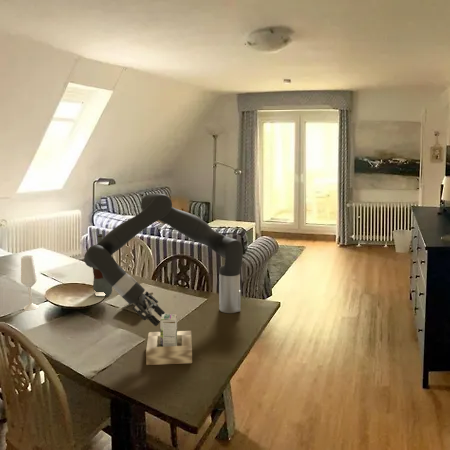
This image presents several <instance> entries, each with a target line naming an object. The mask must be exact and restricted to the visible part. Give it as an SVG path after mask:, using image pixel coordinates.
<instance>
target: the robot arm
mask: <svg viewBox="0 0 450 450" xmlns="http://www.w3.org/2000/svg"><path fill="white" fill-rule="evenodd" d="M172 202H173V201H172V200H171V198H170V196H168V195H167V194H164V193H149V194H147V195H145V196H144V197H142V198H141V201H140V208H141V210H142V211H140V213H138V214H136V215H135V216H132V217H131V218H129V219H127V220H125V221H124V222H121V223H120V224H118V225H117V226H116V227H114V228H113V229H111V230H110V231H109V232H108V233H107V234H106V235H105V236H103V239H102V240H101V241H100V242H99V243H98V242H97V243H96V244H94V245H91V246H90V247H89V248H87V250H86V251H85V253H84V256H83V257H84V258H83V260H84V264H86V266H87V267H89V268H92V269H93V268H96V267H97V268H98V269H99V270H100V271H101V273H102V275H103V278H104V279H105V280H106V281H107V282H108V283H109V284H110V285H111V286H112V289H113V290H114V291H115V292H116V293H117V294H118V295H120V297H121V298H122V299H124V301H125V302H127V303H129V304H130V306H132V305H135V306H134V307H133V308H132V309H133V310H134V311H133V312H136V314H137V315H138V316H139V317H140V318H141V319H142V320H143V321H146V320H147V321H149V322H150V323H152V324H153V326H155V327H157V326H158V325H160V320H159V319H158V318H157V317H156V315H154V314H153V313H152V311H151V310H153V311H154V312H155V313H156V314H157V315H158V316H159V317H160V318H161V316H162V314H166V312H165V311H164V310H163V309H162V308H161V307H160V306H159V301H158V299H156V298H155V297H154V296H153V295H151V294H150V292H149V291H146V289H145V288H144V287H143V286H142V285H141V284H140V283H139V282H138V281H137V280H136V279H135V278H134V277H133V276H132V275H130V274H129V273H128V272H127V271H125V269H124V268H123V267H122V266H121V265H119V264H118V263H117V261H116V260H115V258H114V257H113V256H112V255H114V253H116V252H117V251H119V250H120V249H121V248H122V247H124V246H125V245H126V244H127V243H129V242H130V241H131V240H132V239H134V238H135V237H136V236H137V235H139V234H140V233H141V232H142V231H144V230H146V229H147V228H149V227H150V226H151V225H153V224H154V223H156V222H158V221H160V222H162V223H164V224H166V225H167V226H169V227H170V228H172V229H174V230H175V231H177V232H179V233H181V234H182V235H184V236H186V237H187V238H189V239H190V240H192V241H195V242H196V243H199V244H202V245H205V246H206V247H208V248H209V249H211V250H212V251H214V252H215V253H216V254H217V255H219V256H221V257H223V258H224V264H223V265H220V267H219V268H218V269H219V273H218V274H219V276H218V279H219V281H218V284H219V287H218V288H219V292H218V293H219V299H218V300H219V301H218V302H219V304H218V308H219V311H220V312H222V313H224V314H235V313H238V312H241V269H242V266H243V254H244V250H243V249H244V248H243V244H242V242H241V241H240V240H238V239H236V238H232V237H230V236H226V235H224V234H222V233H219V232H217V231H215V230H213V228H212V227H211V226H210V225H209V223H208V222H206V221H204V220H203V219H201V217H198V216H196V215H194V214H193V213H190V212H187V211H184V210H181V209H178V208H175V207H174V206H173V203H172ZM144 292H145V293H144ZM133 303H134V304H133ZM131 304H132V305H131Z"/></svg>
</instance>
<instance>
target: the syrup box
mask: <svg viewBox="0 0 450 450" xmlns="http://www.w3.org/2000/svg"><path fill="white" fill-rule="evenodd" d="M159 321H160V323H159V325H160V326H159V327H160V329H159V332H160V347H167V346H177V331H178V314H174V313H165V314H162V316H161V317H160V320H159Z"/></svg>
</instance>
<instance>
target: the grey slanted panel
mask: <svg viewBox="0 0 450 450" xmlns="http://www.w3.org/2000/svg"><path fill="white" fill-rule="evenodd" d="M154 291H156V289H155V290H153V291H150V292H149V293H150V294H151V295H152V296H153V295H154ZM132 305H135V304H134V303H133V304H131V305H130V304H129V303H128V302H127V303H125V304H124V305H122V306H121V307H119V308H117V309H116V311H118V310H120V309H121V310H123V309H126V308H128V307H131V306H132Z"/></svg>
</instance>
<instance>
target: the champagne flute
mask: <svg viewBox="0 0 450 450" xmlns="http://www.w3.org/2000/svg"><path fill="white" fill-rule="evenodd" d="M20 266H21V267H20V283H21V284H22V286H25V287H26V288H28V290H27V291H28V300H29V301H28V302H29V303H28V304H26V305H25V306H24V307H23V310H25V311H33V310H36V309H38V308H39V307H40V306H39V305H38V304H35V303H33V295H32V294H33V293H32V287H33V286H34V285H35V284H36V283H37V280H38V279H37V278H38V277H37V273H36V267H35V263H34V257H33V255H22V256H21V257H20Z"/></svg>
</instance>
